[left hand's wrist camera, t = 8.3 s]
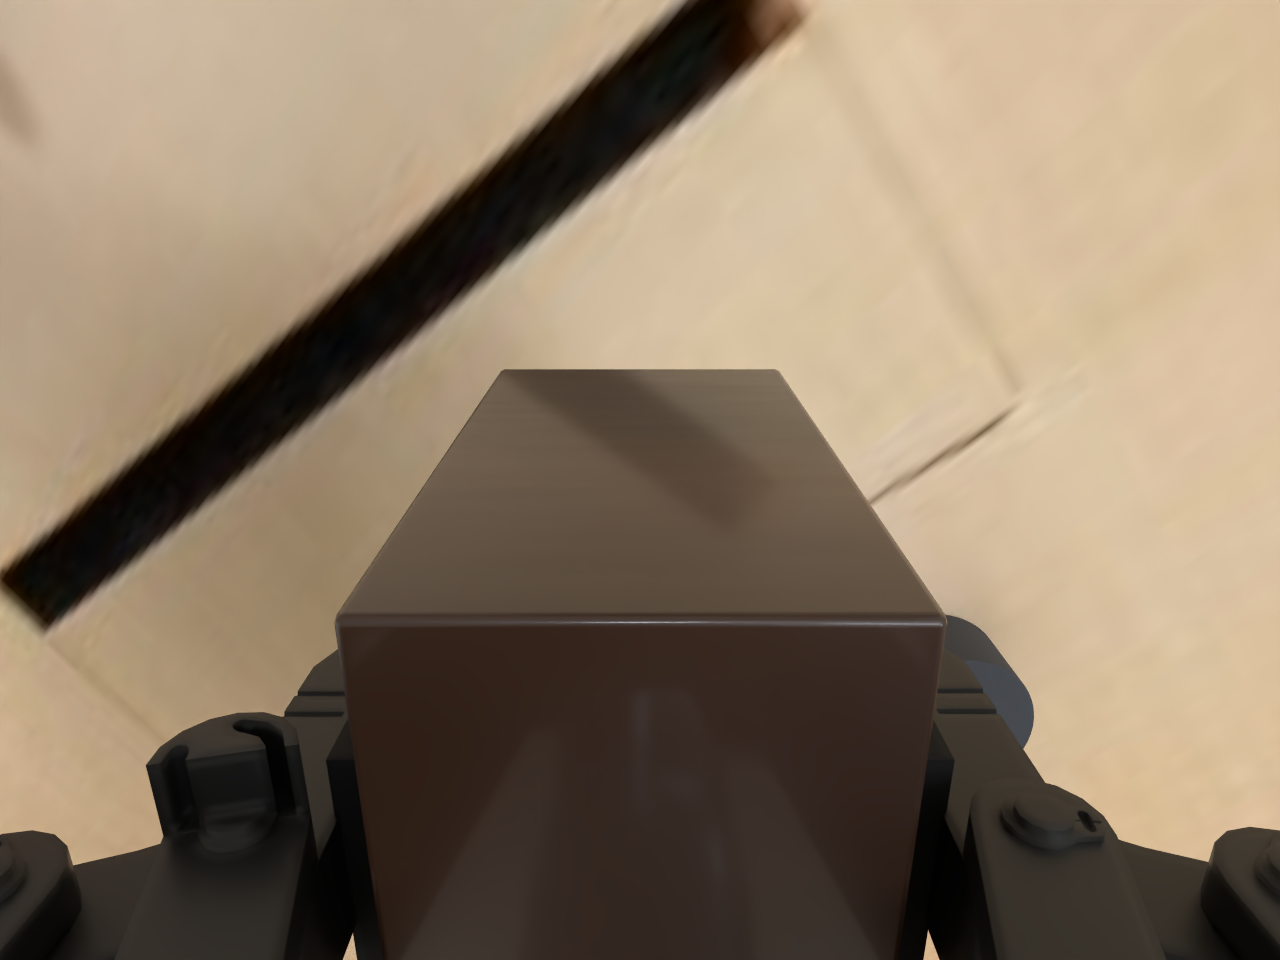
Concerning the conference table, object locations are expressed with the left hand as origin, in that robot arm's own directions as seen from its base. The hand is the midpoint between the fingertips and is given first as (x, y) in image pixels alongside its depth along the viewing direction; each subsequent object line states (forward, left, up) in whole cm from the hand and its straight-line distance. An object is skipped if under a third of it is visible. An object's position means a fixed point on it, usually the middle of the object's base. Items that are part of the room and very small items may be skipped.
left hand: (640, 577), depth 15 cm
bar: (+8, 0, 0) cm, 8 cm away
